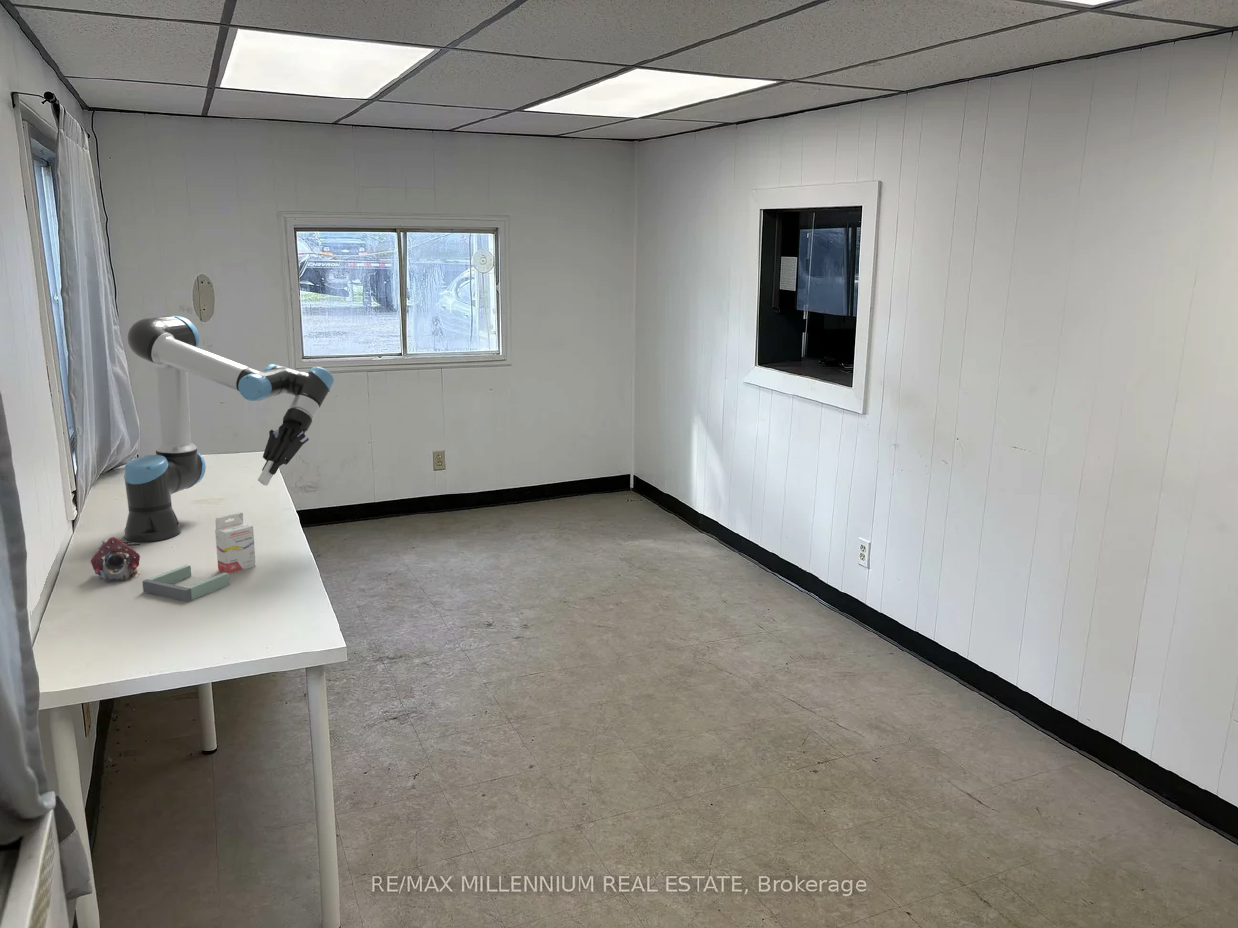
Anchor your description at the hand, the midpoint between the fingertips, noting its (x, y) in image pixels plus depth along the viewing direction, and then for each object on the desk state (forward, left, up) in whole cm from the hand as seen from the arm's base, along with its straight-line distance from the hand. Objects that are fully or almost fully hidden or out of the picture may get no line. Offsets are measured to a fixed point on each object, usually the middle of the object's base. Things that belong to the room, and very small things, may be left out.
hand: (262, 482), depth 252 cm
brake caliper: (-24, -29, -22) cm, 44 cm away
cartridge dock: (0, -27, -22) cm, 35 cm away
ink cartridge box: (0, -11, -22) cm, 25 cm away
